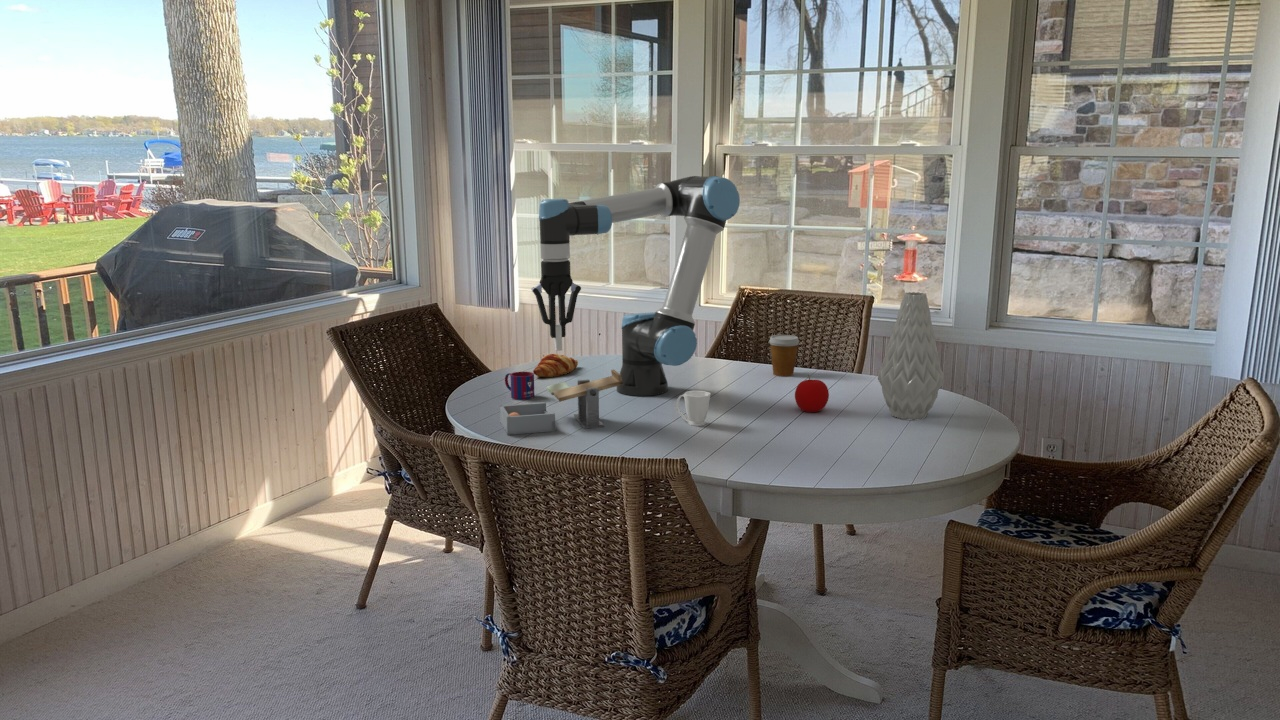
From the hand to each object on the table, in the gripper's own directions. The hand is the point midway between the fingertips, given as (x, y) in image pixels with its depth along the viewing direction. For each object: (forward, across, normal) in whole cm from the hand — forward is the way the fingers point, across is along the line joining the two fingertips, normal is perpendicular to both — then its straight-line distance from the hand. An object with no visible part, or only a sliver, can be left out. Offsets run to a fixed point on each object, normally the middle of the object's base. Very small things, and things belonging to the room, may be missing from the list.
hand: (558, 349), depth 250 cm
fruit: (+19, -66, +15) cm, 71 cm away
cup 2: (+19, -31, +17) cm, 40 cm away
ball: (+16, +14, +8) cm, 22 cm away
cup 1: (+18, +7, -25) cm, 32 cm away
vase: (+19, -88, +28) cm, 95 cm away
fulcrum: (+18, -6, +8) cm, 20 cm away
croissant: (+19, -10, -52) cm, 56 cm away
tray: (+18, +10, +8) cm, 22 cm away
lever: (+10, -6, +4) cm, 12 cm away
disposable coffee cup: (+19, -78, -28) cm, 85 cm away
